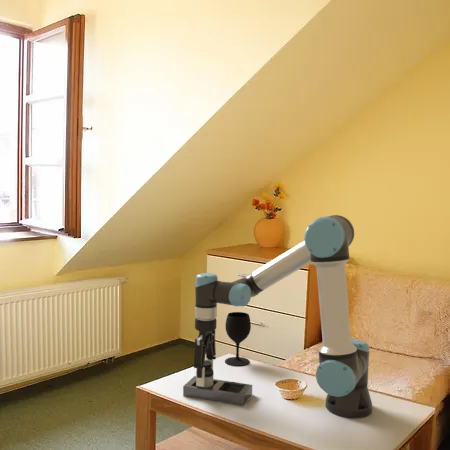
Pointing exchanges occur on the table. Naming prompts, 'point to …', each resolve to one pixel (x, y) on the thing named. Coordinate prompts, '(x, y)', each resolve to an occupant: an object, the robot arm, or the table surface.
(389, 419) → the table surface
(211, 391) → the rectangular frame
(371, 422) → the table surface
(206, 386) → the pill bottle
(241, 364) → the wine glass
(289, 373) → the table surface
